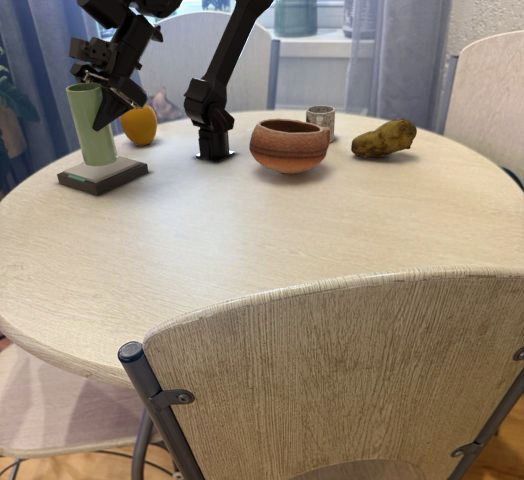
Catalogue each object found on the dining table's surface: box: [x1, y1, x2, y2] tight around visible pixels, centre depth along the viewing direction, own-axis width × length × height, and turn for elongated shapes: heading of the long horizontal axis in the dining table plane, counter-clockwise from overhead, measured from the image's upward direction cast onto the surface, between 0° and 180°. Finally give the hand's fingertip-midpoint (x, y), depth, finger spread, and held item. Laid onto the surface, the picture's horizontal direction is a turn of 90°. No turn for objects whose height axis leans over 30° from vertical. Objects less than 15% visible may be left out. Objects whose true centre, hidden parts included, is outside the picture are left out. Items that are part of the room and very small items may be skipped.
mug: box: [305, 104, 336, 143], centre depth 122 cm, size 10×7×7 cm, turn 172°
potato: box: [350, 118, 418, 158], centre depth 113 cm, size 8×13×8 cm, turn 63°
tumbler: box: [65, 83, 118, 166], centre depth 98 cm, size 6×6×13 cm
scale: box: [56, 155, 150, 197], centre depth 111 cm, size 14×12×3 cm
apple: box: [119, 103, 158, 147], centre depth 125 cm, size 8×8×9 cm
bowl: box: [248, 118, 331, 174], centre depth 108 cm, size 16×16×10 cm
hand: (86, 126), depth 97 cm, fingers closed on tumbler, 6 cm apart
